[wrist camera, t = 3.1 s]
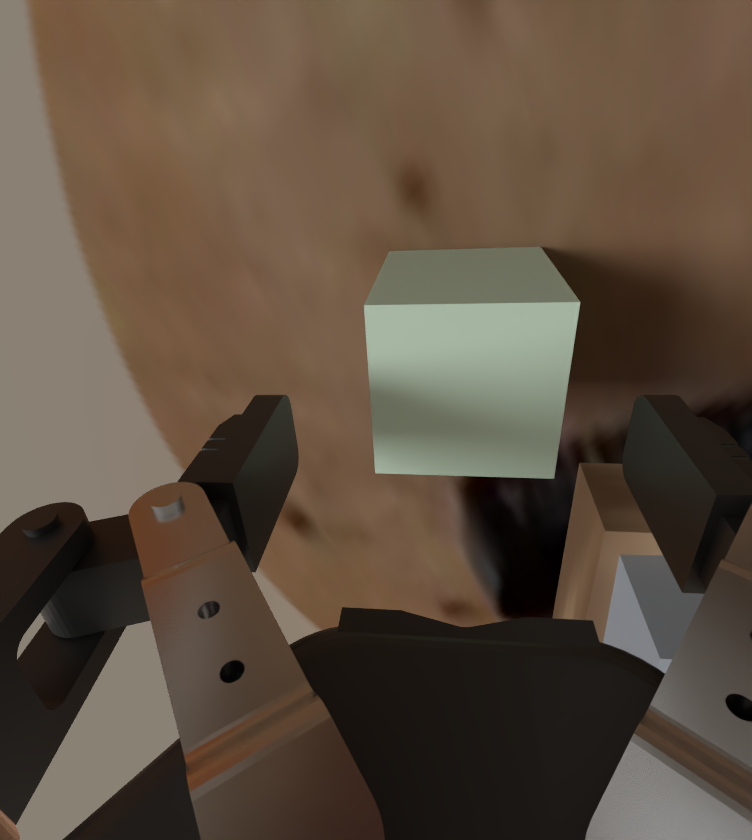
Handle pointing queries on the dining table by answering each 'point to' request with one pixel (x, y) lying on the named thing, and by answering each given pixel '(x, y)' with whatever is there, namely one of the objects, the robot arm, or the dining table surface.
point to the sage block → (469, 362)
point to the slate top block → (648, 610)
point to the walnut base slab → (599, 543)
